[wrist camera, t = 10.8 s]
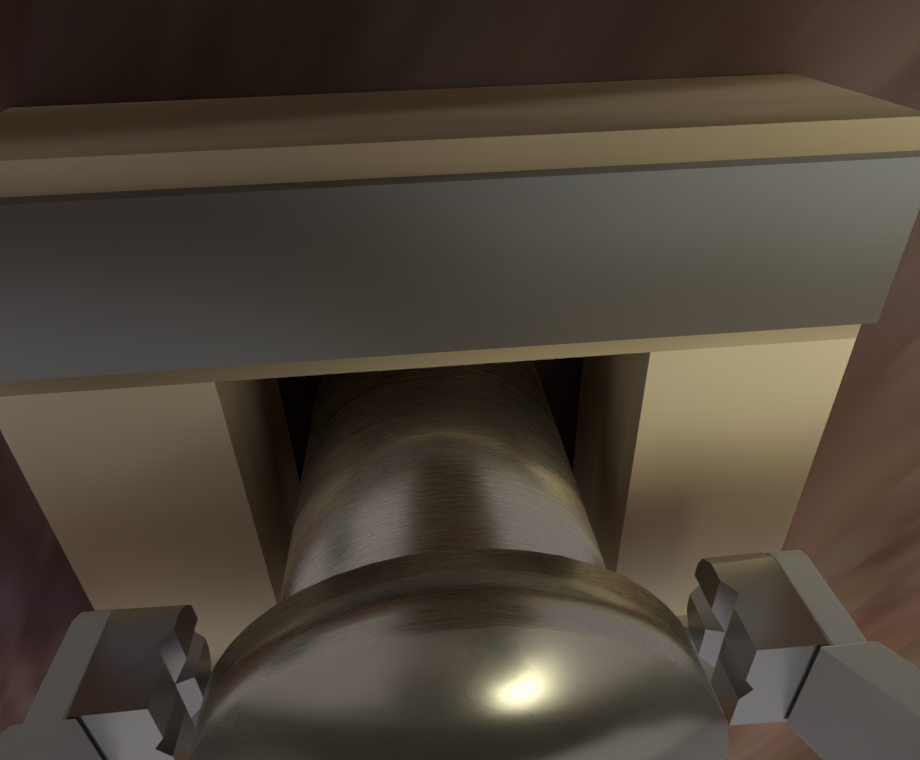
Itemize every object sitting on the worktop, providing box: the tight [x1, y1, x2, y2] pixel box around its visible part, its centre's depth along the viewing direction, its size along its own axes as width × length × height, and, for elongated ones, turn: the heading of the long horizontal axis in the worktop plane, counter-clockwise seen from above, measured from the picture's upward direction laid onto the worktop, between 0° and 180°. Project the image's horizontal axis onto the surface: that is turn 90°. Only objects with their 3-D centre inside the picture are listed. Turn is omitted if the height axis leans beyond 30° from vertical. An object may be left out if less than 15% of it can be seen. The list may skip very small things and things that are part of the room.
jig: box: [0, 73, 920, 728], centre depth 13 cm, size 13×13×4 cm
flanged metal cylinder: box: [188, 360, 729, 760], centre depth 11 cm, size 6×6×8 cm
